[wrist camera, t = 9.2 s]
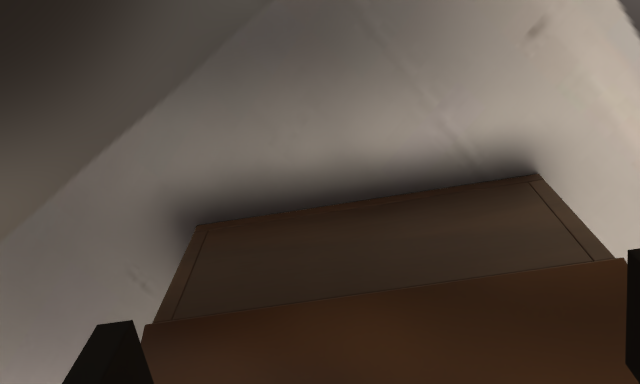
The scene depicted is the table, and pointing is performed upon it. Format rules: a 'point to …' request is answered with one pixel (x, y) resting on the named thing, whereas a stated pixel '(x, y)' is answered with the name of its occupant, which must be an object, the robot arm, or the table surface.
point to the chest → (377, 247)
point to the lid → (415, 335)
